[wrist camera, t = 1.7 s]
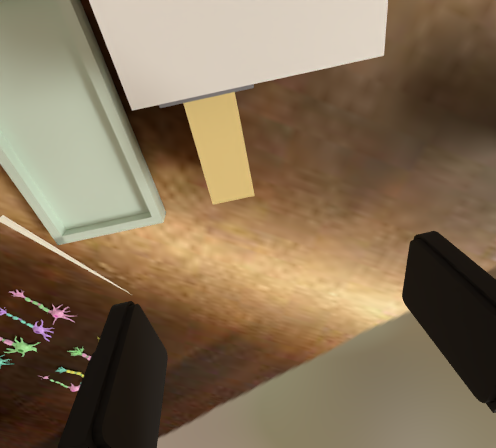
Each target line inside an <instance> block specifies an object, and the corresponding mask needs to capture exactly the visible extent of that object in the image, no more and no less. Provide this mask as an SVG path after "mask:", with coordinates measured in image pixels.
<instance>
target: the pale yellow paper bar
mask: <svg viewBox="0 0 496 448" xmlns="http://www.w3.org/2000/svg"><path fill="white" fill-rule="evenodd" d="M183 104H184V107H185V111H186V114H187V118H188V121H189V124H190V128H191V131H192V135H193V138H194V142H195V145H196V148H197V152H198V155H199V159H200V162H201V166H202V169H203V173H204V176H205V179H206V183H207V186H208V190H209V193H210V197H211V200H212V203H213V204H218V203H223V202H227V201H232V200H237V199H241V198H246V197H251V196H254V190H253V185H252V180H251V175H250V170H249V164H248V159H247V154H246V149H245V144H244V138H243V133H242V128H241V123H240V118H239V112H238V107H237V102H236V97H235V92H232V93H227V94H223V95H218V96H214V97H209V98H204V99H200V100H195V101H191V102H186V103H183Z"/></svg>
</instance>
